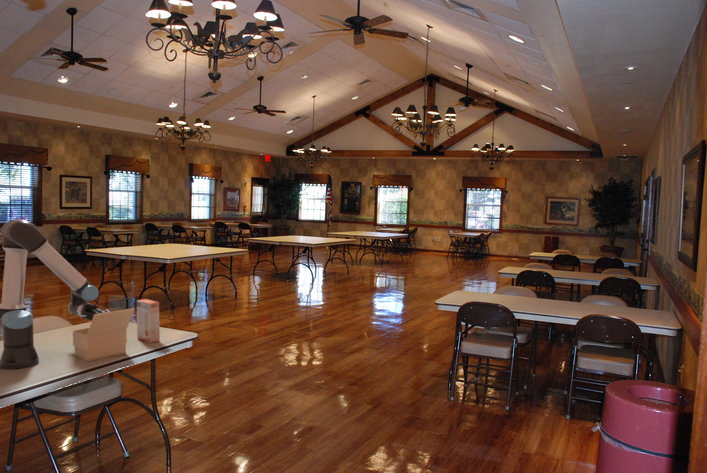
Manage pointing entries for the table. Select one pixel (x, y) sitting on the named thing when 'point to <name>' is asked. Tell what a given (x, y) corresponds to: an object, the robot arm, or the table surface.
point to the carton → (99, 344)
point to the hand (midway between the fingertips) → (111, 318)
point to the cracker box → (148, 320)
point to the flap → (110, 322)
